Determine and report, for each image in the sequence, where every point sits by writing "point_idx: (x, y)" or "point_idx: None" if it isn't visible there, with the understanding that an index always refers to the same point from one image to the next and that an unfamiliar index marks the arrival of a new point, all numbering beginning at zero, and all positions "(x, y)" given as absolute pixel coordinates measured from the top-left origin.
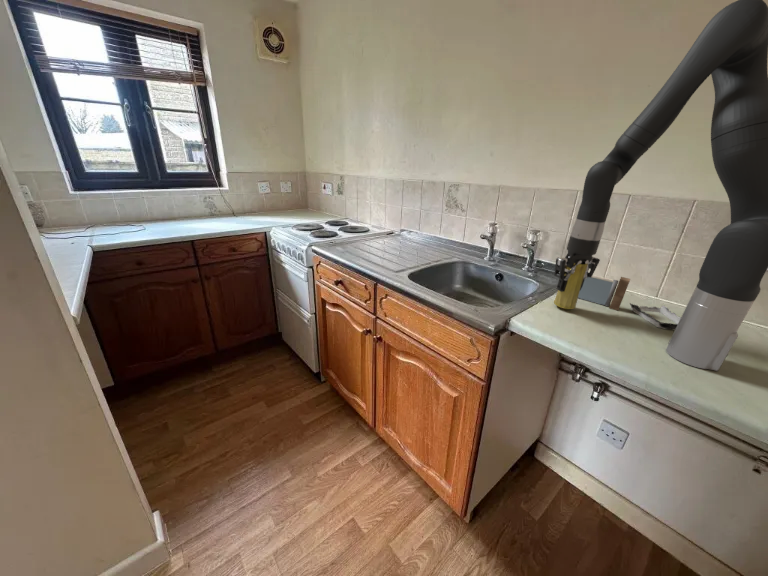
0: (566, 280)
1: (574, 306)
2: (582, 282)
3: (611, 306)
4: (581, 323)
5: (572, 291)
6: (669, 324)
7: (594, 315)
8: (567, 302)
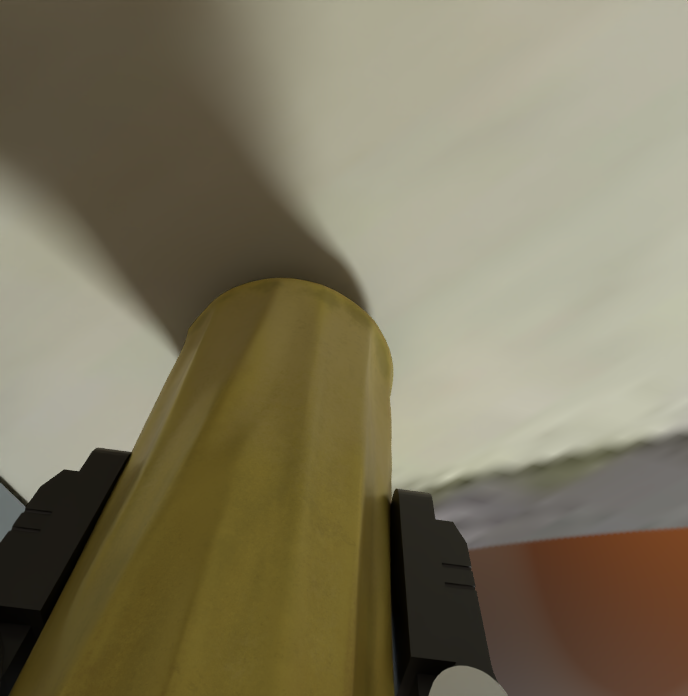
0: (451, 670)
1: (260, 291)
2: (39, 559)
3: None
4: (448, 12)
5: (328, 442)
6: None
7: (84, 116)
8: (355, 349)
